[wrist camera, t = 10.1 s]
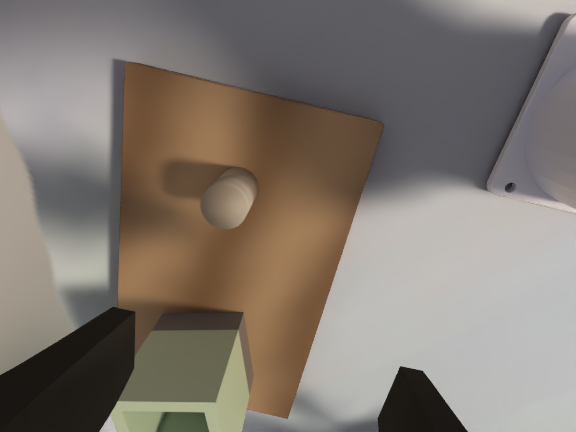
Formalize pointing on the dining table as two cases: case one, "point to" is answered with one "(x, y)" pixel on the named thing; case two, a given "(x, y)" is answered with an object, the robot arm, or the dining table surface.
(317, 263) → the pin board
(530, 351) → the dining table surface
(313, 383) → the dining table surface
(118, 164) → the dining table surface
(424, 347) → the dining table surface
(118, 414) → the sleeve
